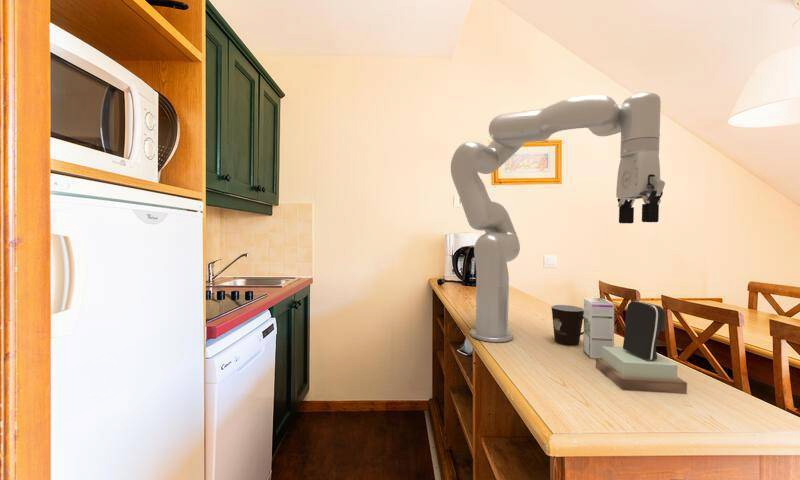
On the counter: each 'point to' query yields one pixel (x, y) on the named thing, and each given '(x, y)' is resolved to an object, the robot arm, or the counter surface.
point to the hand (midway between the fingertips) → (637, 222)
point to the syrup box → (598, 326)
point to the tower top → (638, 364)
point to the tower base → (641, 381)
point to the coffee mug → (567, 324)
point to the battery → (643, 328)
